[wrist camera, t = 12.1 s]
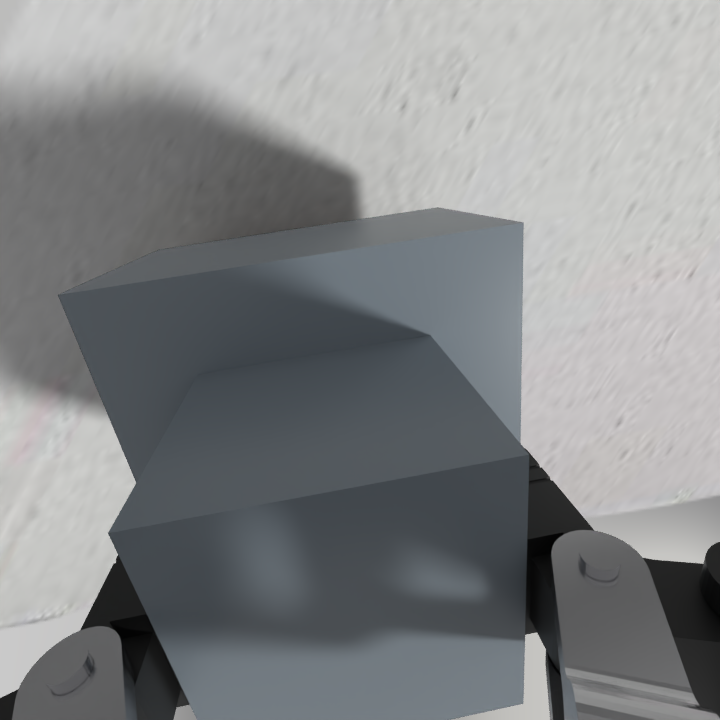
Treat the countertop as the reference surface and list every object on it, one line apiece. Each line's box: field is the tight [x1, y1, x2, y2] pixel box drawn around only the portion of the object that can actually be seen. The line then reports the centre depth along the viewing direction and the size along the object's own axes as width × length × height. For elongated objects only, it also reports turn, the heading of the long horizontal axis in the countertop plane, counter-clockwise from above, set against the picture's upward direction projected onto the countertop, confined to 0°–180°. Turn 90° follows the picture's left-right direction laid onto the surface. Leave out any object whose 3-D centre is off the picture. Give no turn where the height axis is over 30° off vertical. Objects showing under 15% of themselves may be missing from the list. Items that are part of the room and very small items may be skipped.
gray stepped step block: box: [58, 208, 529, 720], centre depth 12 cm, size 10×10×12 cm
